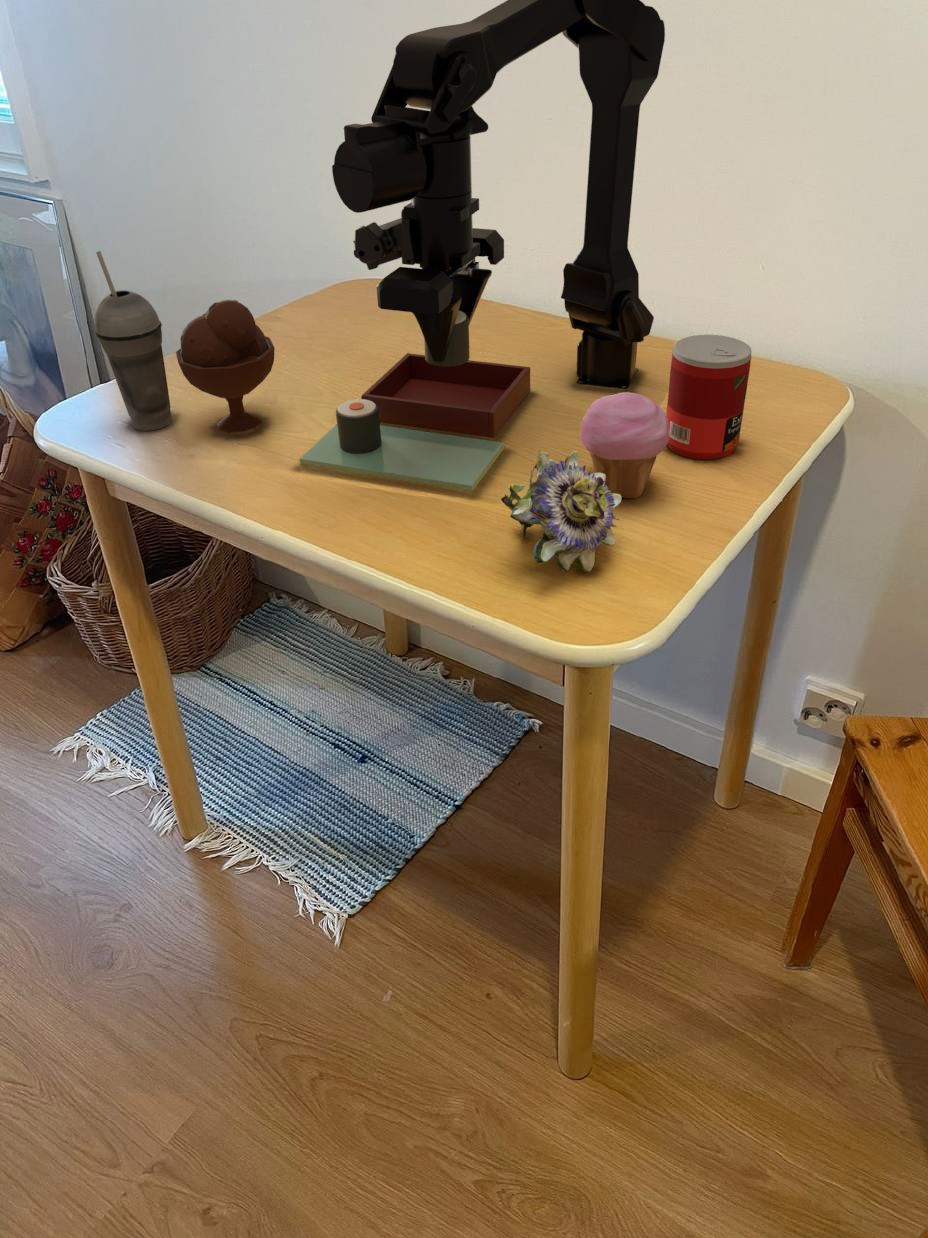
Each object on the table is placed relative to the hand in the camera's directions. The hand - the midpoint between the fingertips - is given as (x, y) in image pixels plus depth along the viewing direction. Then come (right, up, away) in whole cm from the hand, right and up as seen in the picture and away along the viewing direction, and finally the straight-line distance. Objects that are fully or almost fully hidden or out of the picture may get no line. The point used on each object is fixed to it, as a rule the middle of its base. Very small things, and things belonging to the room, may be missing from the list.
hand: (447, 352), depth 99 cm
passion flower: (+10, -21, -9) cm, 25 cm away
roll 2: (0, 0, 0) cm, 1 cm away
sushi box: (0, -2, +16) cm, 16 cm away
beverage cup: (-36, -4, +16) cm, 40 cm away
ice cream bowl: (-25, -5, +14) cm, 29 cm away
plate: (-5, -10, +6) cm, 13 cm away
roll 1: (-10, -8, +7) cm, 14 cm away
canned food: (+28, -8, +6) cm, 30 cm away
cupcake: (+18, -14, 0) cm, 23 cm away
